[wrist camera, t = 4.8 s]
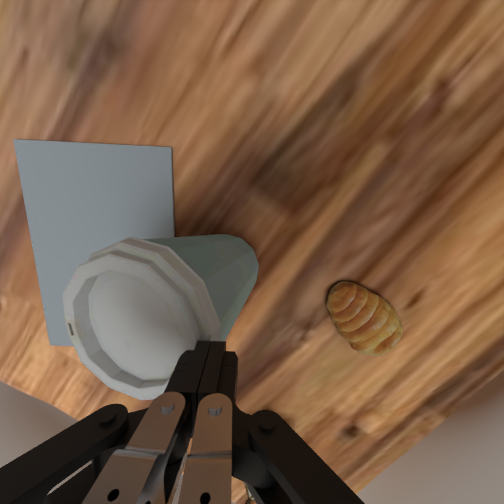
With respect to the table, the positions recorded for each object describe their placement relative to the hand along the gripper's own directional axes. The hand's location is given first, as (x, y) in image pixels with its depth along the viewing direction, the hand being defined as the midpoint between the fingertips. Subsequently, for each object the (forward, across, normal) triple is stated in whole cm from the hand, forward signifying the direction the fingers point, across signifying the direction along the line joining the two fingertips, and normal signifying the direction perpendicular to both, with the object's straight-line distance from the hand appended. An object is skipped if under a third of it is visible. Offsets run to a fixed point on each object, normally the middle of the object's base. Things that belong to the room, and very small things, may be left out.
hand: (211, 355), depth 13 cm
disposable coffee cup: (+15, 0, 0) cm, 15 cm away
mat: (+16, +15, -1) cm, 22 cm away
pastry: (+17, -15, +6) cm, 24 cm away
